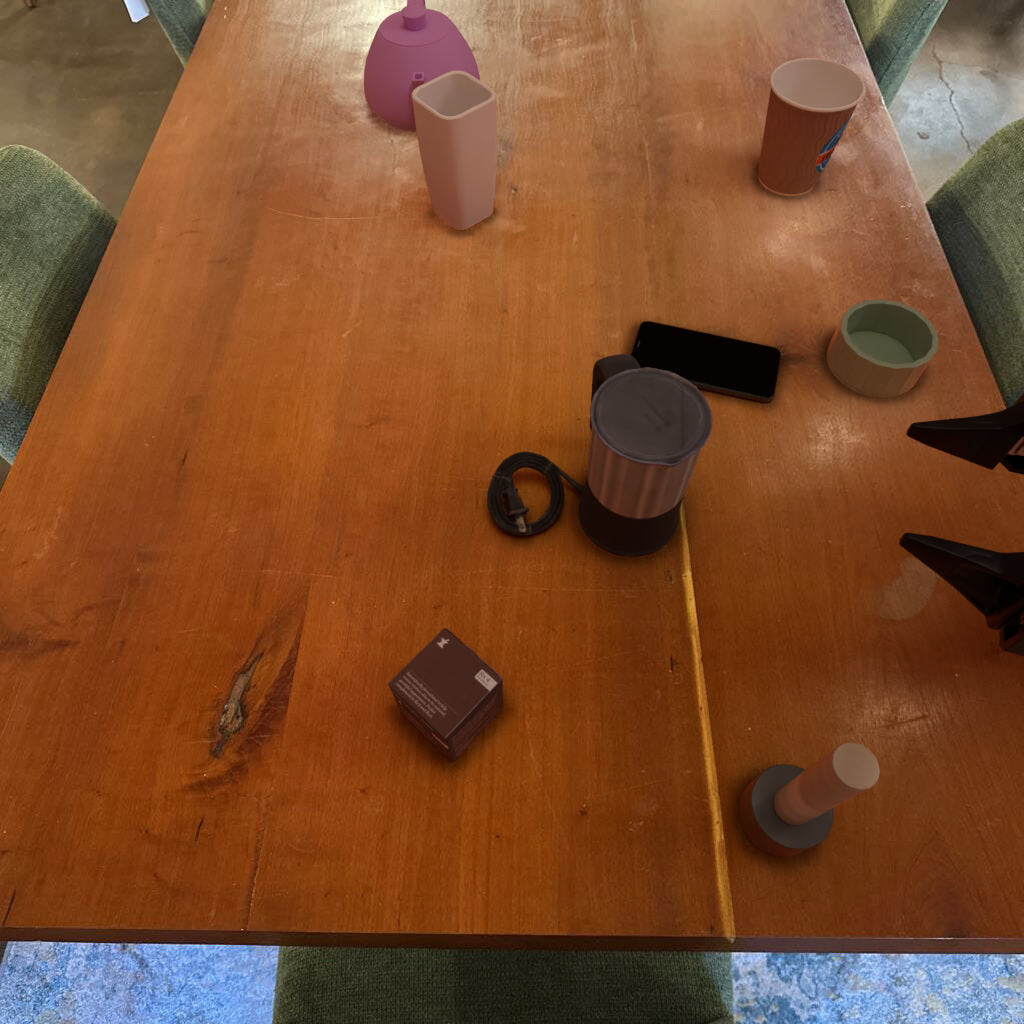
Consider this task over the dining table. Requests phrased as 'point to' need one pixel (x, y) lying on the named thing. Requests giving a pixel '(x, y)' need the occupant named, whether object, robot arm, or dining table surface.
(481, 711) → the box
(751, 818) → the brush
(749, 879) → the dining table surface
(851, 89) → the coffee cup
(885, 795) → the dining table surface
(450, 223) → the cup
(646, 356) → the smartphone
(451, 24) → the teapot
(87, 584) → the dining table surface
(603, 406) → the milk frother
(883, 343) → the pale green bowl
